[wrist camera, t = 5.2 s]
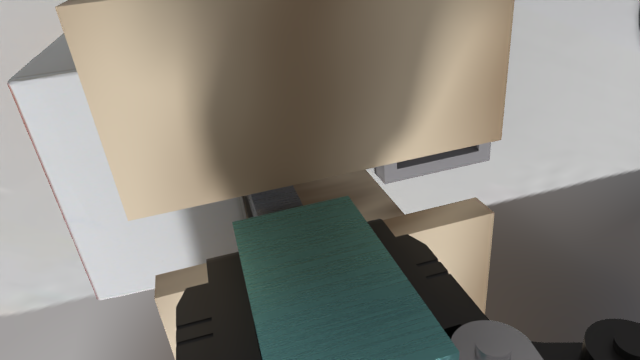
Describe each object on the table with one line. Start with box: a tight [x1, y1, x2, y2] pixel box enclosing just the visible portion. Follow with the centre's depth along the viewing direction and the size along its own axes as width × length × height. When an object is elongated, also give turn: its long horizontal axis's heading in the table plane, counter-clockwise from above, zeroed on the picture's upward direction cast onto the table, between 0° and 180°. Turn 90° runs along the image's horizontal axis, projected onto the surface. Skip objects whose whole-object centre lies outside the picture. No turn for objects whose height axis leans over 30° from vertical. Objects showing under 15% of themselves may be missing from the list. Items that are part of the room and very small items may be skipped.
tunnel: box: [55, 0, 514, 360], centre depth 19 cm, size 10×12×14 cm
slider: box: [232, 185, 459, 360], centre depth 15 cm, size 2×9×20 cm, turn 6°
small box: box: [7, 33, 247, 300], centre depth 19 cm, size 8×6×10 cm
